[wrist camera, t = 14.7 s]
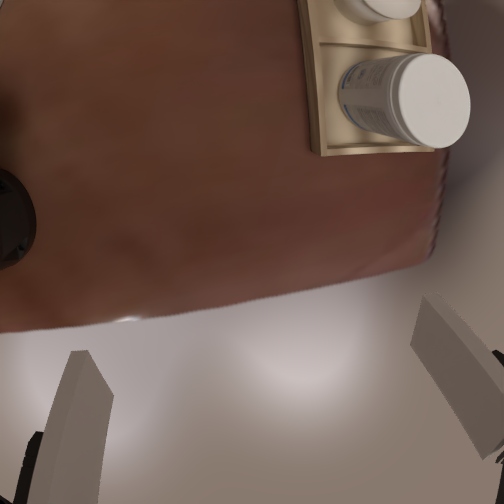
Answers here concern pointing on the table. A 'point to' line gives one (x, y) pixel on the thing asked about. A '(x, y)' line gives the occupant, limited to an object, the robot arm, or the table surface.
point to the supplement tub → (407, 98)
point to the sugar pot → (376, 10)
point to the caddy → (339, 61)
